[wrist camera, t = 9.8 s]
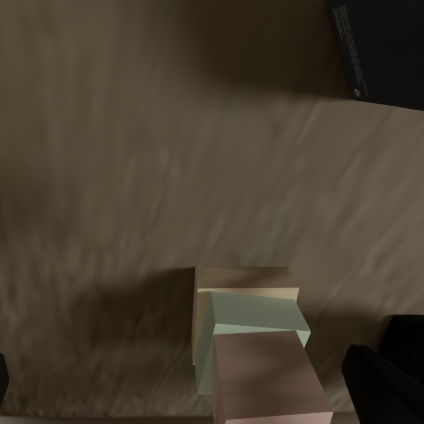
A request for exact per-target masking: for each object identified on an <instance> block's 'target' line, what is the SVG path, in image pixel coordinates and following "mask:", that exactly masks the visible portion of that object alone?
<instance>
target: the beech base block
mask: <svg viewBox="0 0 424 424" xmlns="http://www.w3.org/2000/svg"><path fill="white" fill-rule="evenodd" d="M211 291H217V292H226V293H236V294H246V295H256V296H266V297H276V298H286V299H294V300H295V302H296V300H297V295H298V291H299V287H298V285H297V283H296V281H295V280H294V278H293V276H292V274H291V273H290V271H289V269H288V267H195V284H194V301H193V319H192V336H191V342H192V359H193V365H195V353H196V349H197V345H198V341H199V336H200V332H201V328H202V324H203V320H204V316H205V312H206V308H207V304H208V300H209V296H210V292H211Z"/></svg>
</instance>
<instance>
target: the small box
mask: <svg viewBox="0 0 424 424" xmlns="http://www.w3.org/2000/svg"><path fill="white" fill-rule="evenodd" d="M326 4H327V10H328V12H329V15H330V17H331V19H332V22H333V28H334V30H335V33H336V37H337V40H338V45H339V47H340V51H341V55H342V60H343V62H344V66H345V70H346V77H347V80H348V83H349V86H350V89H351V91H352V94H353V97H354V100H356V101H363V102H370V103H376V104H383V105H389V106H396V107H402V108H408V109H414V110H421V111H424V0H326Z"/></svg>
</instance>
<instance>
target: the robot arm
mask: <svg viewBox="0 0 424 424" xmlns="http://www.w3.org/2000/svg"><path fill="white" fill-rule="evenodd" d="M342 374H343V377H344V380H345V382H346V385H347V388H348V391H349V394H350V397H351V399H352V402H353V405H354V408H355V411H356V414H357V416H358V419H359V422H360V424H424V316H396V317H394V318H393V319H392V320H391V323H390V325H389V327H388V330H387V332H386V335H385V337H384V339H383V342H382V344H381V346H380V349H379V351H378V353H376V352H375V351H374V350H372V349H371V348H369V347H368V346H366V345H364V344H351V345H350V346H348V349H347V351H346V354H345V357H344V360H343V362H342ZM8 383H9V374H8V370H7V366H6V362H5V358H4V355H3V354H2V353H0V407H1V404H2V401H3V399H4V396H5V393H6V390H7V387H8Z"/></svg>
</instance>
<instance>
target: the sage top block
mask: <svg viewBox="0 0 424 424" xmlns="http://www.w3.org/2000/svg"><path fill="white" fill-rule="evenodd" d="M275 331H297V334H298V336H299V338H300V340H301V342H302V345H303V347H305V345H306V342H307V340H308V338H309V335H310V333H311V330H310V328H309V326H308V325H307V323H306V321H305V319H304V317H303V315H302V313H301V311H300V309H299V307H298V305H297V304H296V302H295V300H294V299H286V298H276V297H266V296H256V295H246V294H236V293H226V292H217V291H211V292H210V296H209V300H208V304H207V308H206V312H205V316H204V320H203V324H202V328H201V332H200V336H199V341H198V345H197V349H196V353H195V371H196V386H197V395H211V388H212V367H213V346H214V335H216V334H235V333H255V332H275Z"/></svg>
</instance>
